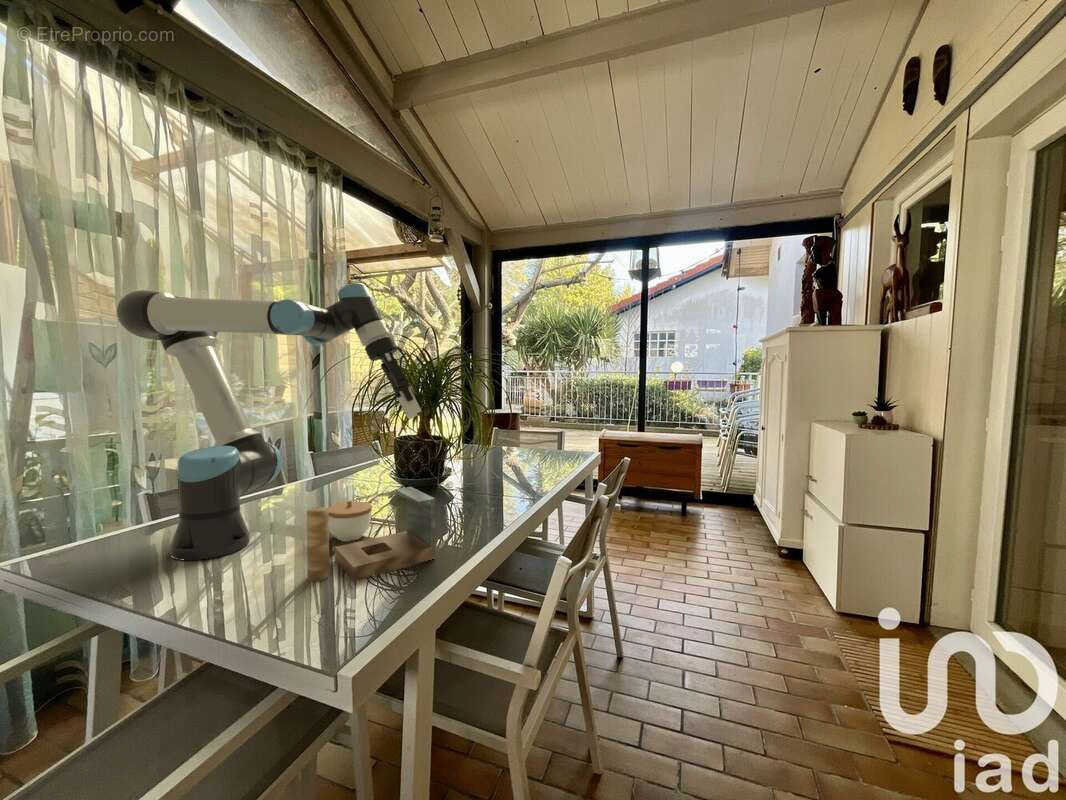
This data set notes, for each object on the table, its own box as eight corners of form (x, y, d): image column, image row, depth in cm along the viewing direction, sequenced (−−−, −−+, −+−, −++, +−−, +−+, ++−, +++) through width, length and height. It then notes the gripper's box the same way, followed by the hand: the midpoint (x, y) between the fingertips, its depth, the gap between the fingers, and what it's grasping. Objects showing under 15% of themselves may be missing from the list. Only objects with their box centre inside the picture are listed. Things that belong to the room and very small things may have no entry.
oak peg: (310, 583, 88) (309, 514, 88) (305, 576, 91) (304, 509, 91) (331, 577, 91) (330, 510, 90) (326, 570, 94) (325, 506, 93)
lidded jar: (380, 533, 116) (380, 498, 115) (348, 548, 106) (347, 509, 106) (350, 527, 121) (350, 493, 120) (317, 540, 111) (316, 503, 110)
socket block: (353, 581, 89) (353, 513, 89) (335, 560, 99) (334, 498, 99) (435, 559, 101) (435, 498, 100) (410, 541, 111) (410, 486, 110)
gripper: (392, 323, 104) (432, 404, 105) (391, 346, 127) (424, 413, 128) (361, 335, 101) (402, 418, 102) (365, 357, 125) (399, 424, 126)
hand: (414, 415), depth 115 cm, fingers open, 13 cm apart
